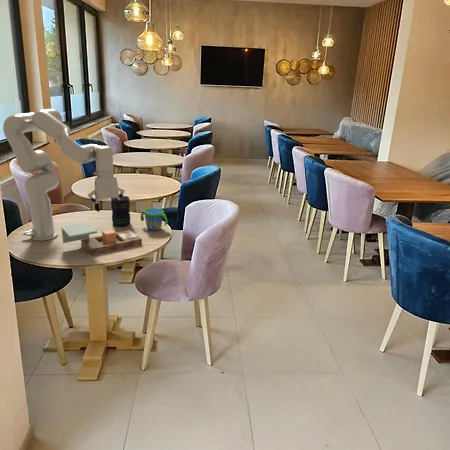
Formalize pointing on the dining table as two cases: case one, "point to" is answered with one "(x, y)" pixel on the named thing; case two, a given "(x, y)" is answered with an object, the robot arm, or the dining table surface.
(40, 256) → the dining table surface
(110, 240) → the block
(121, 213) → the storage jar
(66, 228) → the cover
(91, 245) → the board
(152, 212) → the snack cup
